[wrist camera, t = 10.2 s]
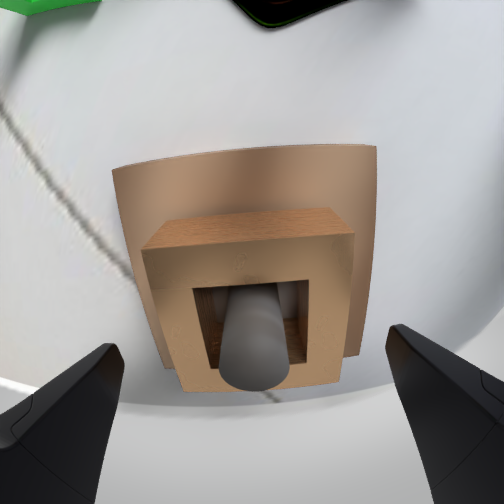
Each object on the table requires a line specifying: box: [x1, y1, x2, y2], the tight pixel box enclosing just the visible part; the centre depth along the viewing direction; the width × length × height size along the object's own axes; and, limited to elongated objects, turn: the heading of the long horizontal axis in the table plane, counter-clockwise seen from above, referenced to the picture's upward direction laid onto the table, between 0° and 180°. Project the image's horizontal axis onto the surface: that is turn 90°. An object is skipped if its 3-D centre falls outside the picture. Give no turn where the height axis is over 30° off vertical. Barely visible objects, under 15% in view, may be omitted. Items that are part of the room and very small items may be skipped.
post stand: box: [112, 144, 377, 391], centre depth 11 cm, size 11×11×7 cm
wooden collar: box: [141, 207, 355, 392], centre depth 11 cm, size 6×6×3 cm
